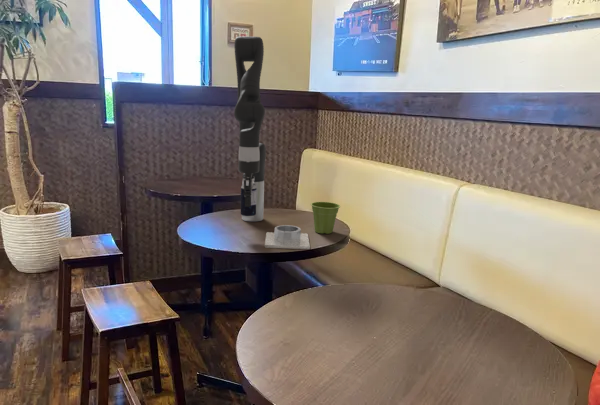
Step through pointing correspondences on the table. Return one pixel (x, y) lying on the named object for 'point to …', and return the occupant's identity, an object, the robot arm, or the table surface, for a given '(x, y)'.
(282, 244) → the metal collar
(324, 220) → the plant pot
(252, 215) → the beverage can
